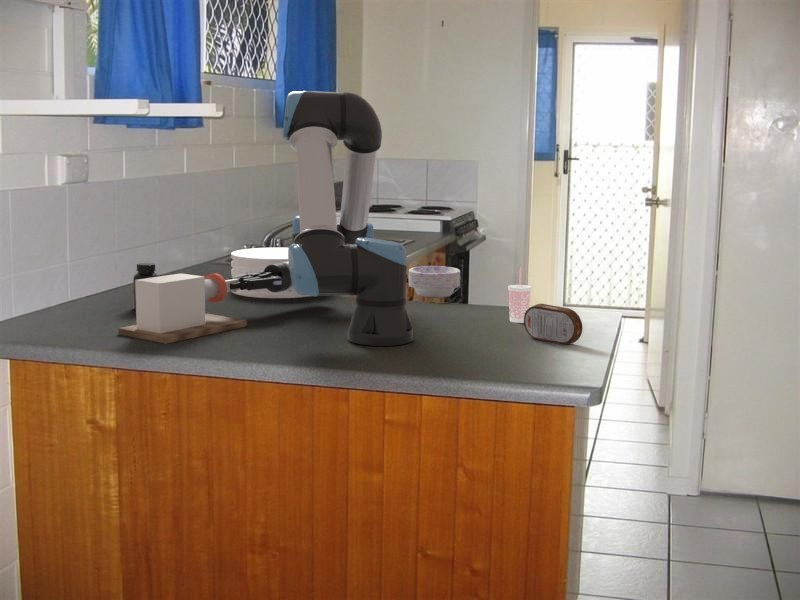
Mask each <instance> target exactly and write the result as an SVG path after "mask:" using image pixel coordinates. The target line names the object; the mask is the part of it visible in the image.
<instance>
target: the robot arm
mask: <svg viewBox="0 0 800 600" xmlns="http://www.w3.org/2000/svg"><path fill="white" fill-rule="evenodd" d="M282 128H283V129H282V139H283V140H286V141H288V142H289V147H290V148H291V149H292V150H293V151H294V152H295V160H296V177H297V179H296V180H297V194H298V195H297V197H298V214H299V215H296V216H295V217H294V218H293V219H292V229H291V238H292V241H291V242H292V244H290V245H289V246H288V247H287V248H288V260H289V262H283V263H277V264H271V265H268V266H267V267H266V268H265V270H264V271H262V272H258V273H254V274H251V275H250V274H249V273H244V274H242V275H238V276H230V277H228V279H224V280H225V282H226V285H227V293H229V292H232V291H233V292H236V291H237V290H239V288H240V290H245V289H247V290H248V291H250V290H257V289H266V288H267V289H268V290H269V291H271V292H281V291H285V290H288V292H291V289H294V290H295V291H296V293H297V294H299V295H306V296H307V297H315V298H316V297H325V296H329V297H330V296H355V306H354V311H353V313H352V316H351V318H350V323H349V325H348V328H347V341H349V342H351V343H354V344H357V345H364V346H371V347H373V346H375V347H390V346H400V345H405V344H409V343H411V342H412V341H414V330H413V327H412V323H411V319H410V315H409V313H408V310H407V309H408V308H407V273H408V272H407V270H408V269H407V267H408V265H409V264H408V258H407V257H408V256H407V255H408V254H407V248H406V246H404V245H403V244H402V243H399V242H396V241H392V240H385V239H381V238H374V237H375V231H374V230H375V229H374V226H373V224H372V223H371V222H368V221H369V214H370V213H369V212H370V205H371V199H372V198H371V196H372V188H373V180H374V173H375V172H374V171H375V163H376V156H377V152H378V151H379V150H380V149H381V147H382V138H383V131H382V125H381V121H380V119H379V117H378V114H377V112H376V111H375V110H374V107H372V104H370V103H369V102H368V101H367V100H366V98H365V99H364V98H363V97H362V96H360V95H359V94H357V93H353V92H350V91H349V92H348V91H342V92H337V91H307V90H303V91H302V90H301V91H299V90H298V91H291V92H289V93H288V95H287V96H286V99H285V107H284V120H283V127H282ZM338 141H342V143H343V146H344V147H345V149H346V151H345V162H344V170H343V171H344V174H343V183H342V194H341V195H342V196H341V206H340V217H339V222H337V209H336V196H335V194H336V193H335V181H334V180H335V179H334V167H333V166H334V165H333V152H332V151H333V149H335V147H336V146H337V143H338ZM233 292H232V293H233Z"/></svg>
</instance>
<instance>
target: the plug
mask: <svg viewBox="0 0 800 600" xmlns="http://www.w3.org/2000/svg"><path fill="white" fill-rule="evenodd" d="M204 277H205V300H207V301H208V302H210V303H212V304H213V303H219V302H222V301H223V300H224V299H225V298H226V297H227V293H228V292H227V285H226V282H225V280H226V279H225V278H224V277H223V275H222V274H220V273H210V274H206V275H205V276H204Z"/></svg>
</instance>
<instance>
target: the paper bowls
mask: <svg viewBox="0 0 800 600" xmlns="http://www.w3.org/2000/svg"><path fill="white" fill-rule="evenodd" d="M408 286H409V287H411V288H414V291H415V294H416V295H418V296H419V297H422V298H427V299H443V298H447V297H451V296H452V294H453V292H454V291H455V289H457V288H459V287H461V269H459V268H457V267H452V266H443V265H442V266H441V265H440V266H439V265H424V266H423V265H421V266H414V267H411V268H409V269H408Z"/></svg>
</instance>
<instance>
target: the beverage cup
mask: <svg viewBox="0 0 800 600" xmlns="http://www.w3.org/2000/svg"><path fill="white" fill-rule="evenodd" d="M522 269H523V268H522V266H520V267H519V273H518V274H519V276H518V277H519V278H518V284H509V285H507V289H508V301H509V302H508V306H509V321H510V322H511V323H518V324H520V323H522V324H524V315H525V312H526V311H527V310H528V309H529V308H530V302H531V300H530V299H531V291H532V289H533V288H532V287H533V286H531V285H528V284H527V285H525V284H522Z"/></svg>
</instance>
